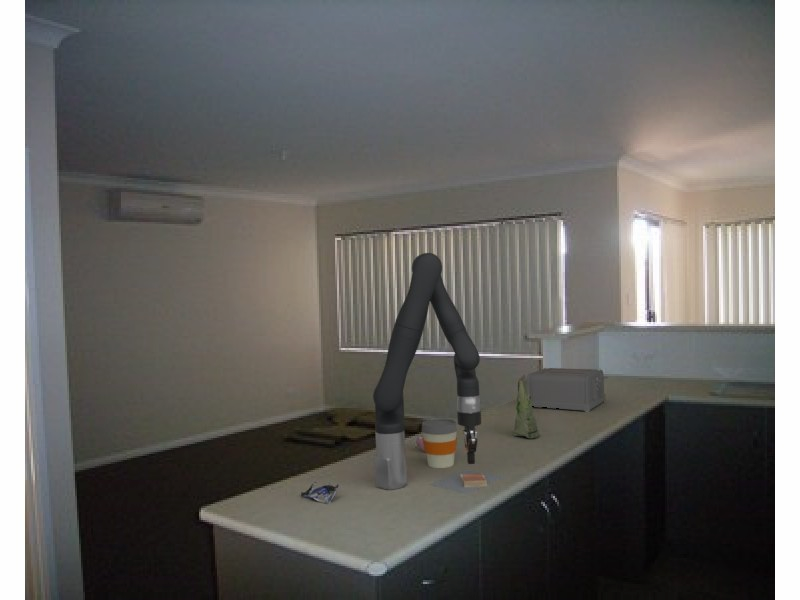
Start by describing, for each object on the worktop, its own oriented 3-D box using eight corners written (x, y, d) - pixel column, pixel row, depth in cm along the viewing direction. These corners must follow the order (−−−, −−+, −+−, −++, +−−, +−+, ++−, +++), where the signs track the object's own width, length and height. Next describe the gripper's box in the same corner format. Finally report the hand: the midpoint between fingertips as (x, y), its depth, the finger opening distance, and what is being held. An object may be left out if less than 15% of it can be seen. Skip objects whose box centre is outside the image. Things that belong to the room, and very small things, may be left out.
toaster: (597, 413, 288) (595, 377, 288) (526, 408, 308) (524, 374, 307) (613, 402, 314) (612, 368, 313) (547, 398, 333) (545, 366, 333)
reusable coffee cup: (417, 469, 208) (416, 425, 208) (429, 459, 220) (427, 418, 219) (452, 471, 203) (451, 427, 203) (463, 461, 215) (461, 419, 215)
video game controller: (434, 450, 238) (427, 433, 240) (442, 446, 236) (435, 429, 238) (419, 456, 230) (412, 438, 232) (427, 452, 228) (420, 434, 230)
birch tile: (482, 478, 193) (487, 486, 185) (460, 479, 193) (464, 487, 185) (482, 472, 193) (486, 479, 185) (460, 473, 193) (464, 481, 185)
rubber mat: (467, 495, 179) (467, 493, 179) (428, 485, 189) (428, 484, 189) (504, 478, 194) (504, 476, 194) (466, 470, 204) (466, 469, 204)
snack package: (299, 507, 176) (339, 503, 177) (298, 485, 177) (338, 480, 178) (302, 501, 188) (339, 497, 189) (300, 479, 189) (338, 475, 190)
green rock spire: (523, 441, 240) (520, 378, 240) (506, 435, 251) (503, 375, 251) (545, 437, 245) (543, 375, 244) (528, 431, 255) (525, 372, 255)
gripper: (454, 406, 199) (456, 458, 199) (460, 414, 186) (462, 470, 186) (476, 405, 199) (478, 457, 199) (484, 412, 186) (486, 468, 186)
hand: (471, 463), depth 193 cm, fingers closed
